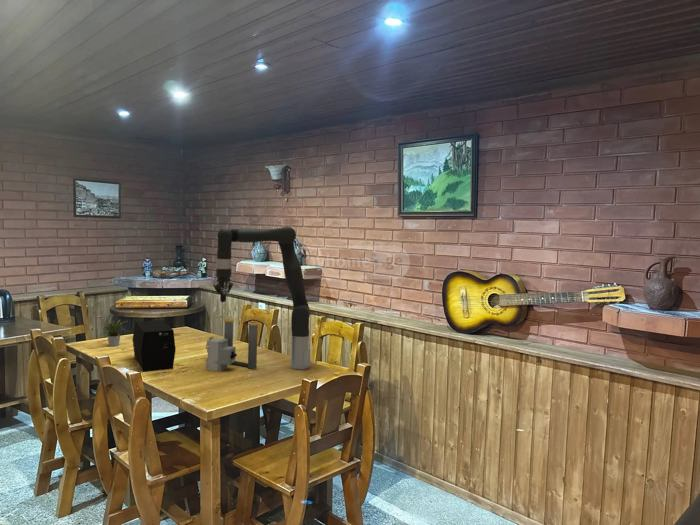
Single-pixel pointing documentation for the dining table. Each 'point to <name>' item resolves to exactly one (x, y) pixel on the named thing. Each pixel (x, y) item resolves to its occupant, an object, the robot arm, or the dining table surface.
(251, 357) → the post
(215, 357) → the circuit breaker
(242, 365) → the floor cable
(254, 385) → the dining table surface
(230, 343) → the far cord post
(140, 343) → the uninterruptible power supply
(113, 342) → the house plant
